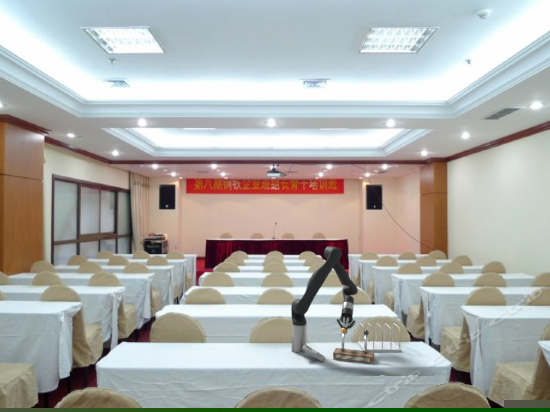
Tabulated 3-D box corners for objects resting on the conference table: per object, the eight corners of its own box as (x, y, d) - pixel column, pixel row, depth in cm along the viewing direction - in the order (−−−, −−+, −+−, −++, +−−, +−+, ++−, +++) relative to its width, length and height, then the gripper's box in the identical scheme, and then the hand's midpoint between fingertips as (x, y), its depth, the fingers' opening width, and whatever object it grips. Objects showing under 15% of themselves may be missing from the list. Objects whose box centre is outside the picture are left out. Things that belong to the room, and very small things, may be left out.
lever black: (362, 352, 250) (363, 329, 256) (362, 353, 253) (364, 330, 259) (367, 353, 249) (368, 329, 255) (368, 353, 252) (369, 330, 258)
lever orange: (339, 350, 255) (341, 327, 261) (340, 350, 257) (341, 328, 264) (344, 350, 254) (346, 327, 260) (345, 351, 256) (346, 328, 262)
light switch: (324, 359, 247) (303, 346, 249) (319, 367, 247) (298, 354, 250) (325, 355, 255) (305, 342, 258) (320, 363, 255) (300, 350, 258)
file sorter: (363, 352, 266) (363, 328, 267) (357, 344, 284) (357, 321, 284) (401, 352, 267) (401, 328, 267) (393, 344, 284) (393, 321, 285)
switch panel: (333, 359, 252) (333, 350, 252) (336, 354, 262) (336, 346, 262) (372, 363, 244) (372, 355, 244) (374, 358, 254) (374, 349, 254)
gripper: (337, 306, 276) (333, 329, 263) (356, 307, 271) (354, 331, 259) (338, 312, 280) (335, 335, 268) (357, 314, 276) (355, 337, 264)
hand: (344, 333), depth 264 cm, fingers closed
